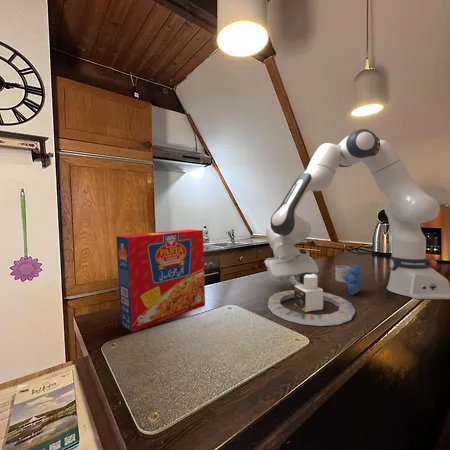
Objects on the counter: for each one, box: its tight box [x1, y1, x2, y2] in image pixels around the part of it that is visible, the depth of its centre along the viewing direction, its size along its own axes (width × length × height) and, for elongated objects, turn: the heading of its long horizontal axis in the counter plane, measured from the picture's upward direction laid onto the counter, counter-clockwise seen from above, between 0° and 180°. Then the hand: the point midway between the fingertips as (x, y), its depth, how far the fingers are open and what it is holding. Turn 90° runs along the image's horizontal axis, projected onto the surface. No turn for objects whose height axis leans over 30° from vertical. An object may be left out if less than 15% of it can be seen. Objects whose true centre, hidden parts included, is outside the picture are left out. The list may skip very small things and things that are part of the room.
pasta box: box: [115, 229, 206, 333], centre depth 85 cm, size 28×8×28 cm, turn 135°
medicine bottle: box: [293, 272, 324, 313], centre depth 88 cm, size 7×7×12 cm
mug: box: [334, 264, 351, 284], centre depth 121 cm, size 10×7×7 cm
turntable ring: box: [267, 289, 356, 327], centre depth 88 cm, size 28×28×2 cm
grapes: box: [343, 263, 363, 296], centre depth 102 cm, size 12×7×12 cm, turn 137°
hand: (300, 287), depth 92 cm, fingers closed
